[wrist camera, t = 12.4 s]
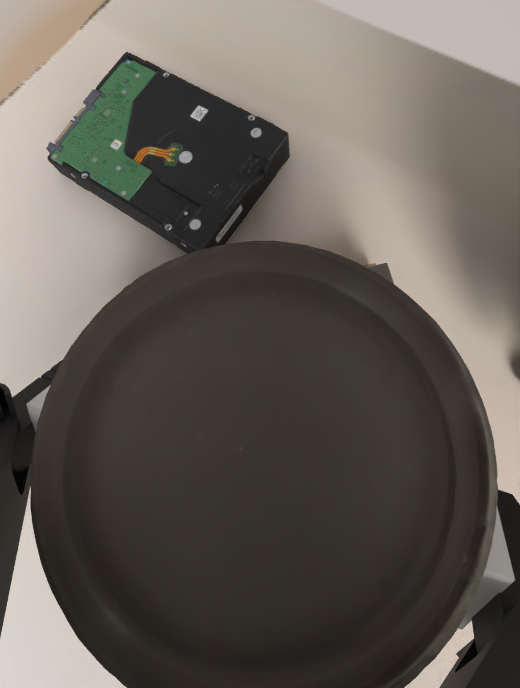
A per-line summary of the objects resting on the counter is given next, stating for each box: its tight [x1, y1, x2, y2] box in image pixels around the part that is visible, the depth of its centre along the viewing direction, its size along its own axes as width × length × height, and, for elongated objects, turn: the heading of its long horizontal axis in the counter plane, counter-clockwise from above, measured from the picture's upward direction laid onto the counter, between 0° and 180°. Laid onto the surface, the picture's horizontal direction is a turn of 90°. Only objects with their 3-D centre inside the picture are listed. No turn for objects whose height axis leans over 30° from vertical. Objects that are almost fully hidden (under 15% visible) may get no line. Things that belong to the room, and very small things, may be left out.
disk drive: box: [46, 52, 290, 254], centre depth 28 cm, size 10×3×15 cm
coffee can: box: [30, 241, 498, 688], centre depth 15 cm, size 10×10×14 cm
